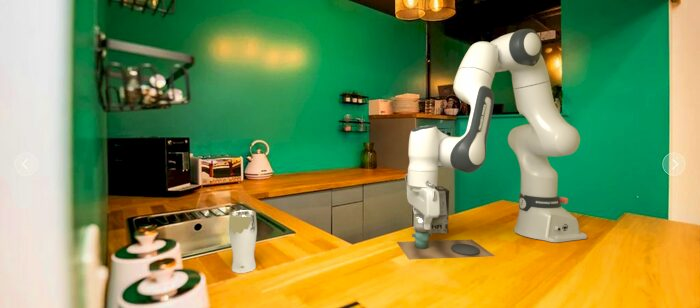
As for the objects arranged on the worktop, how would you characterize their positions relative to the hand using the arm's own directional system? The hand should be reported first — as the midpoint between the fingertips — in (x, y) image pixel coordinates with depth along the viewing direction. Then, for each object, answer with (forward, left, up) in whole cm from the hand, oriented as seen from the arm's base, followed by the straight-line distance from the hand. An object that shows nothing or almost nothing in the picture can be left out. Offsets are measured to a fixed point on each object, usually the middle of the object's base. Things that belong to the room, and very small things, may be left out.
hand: (421, 224), depth 98 cm
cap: (0, 0, -2) cm, 2 cm away
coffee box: (-11, -17, -8) cm, 22 cm away
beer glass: (+51, +8, -8) cm, 52 cm away
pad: (-12, +4, -7) cm, 14 cm away
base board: (-6, +2, -8) cm, 10 cm away
